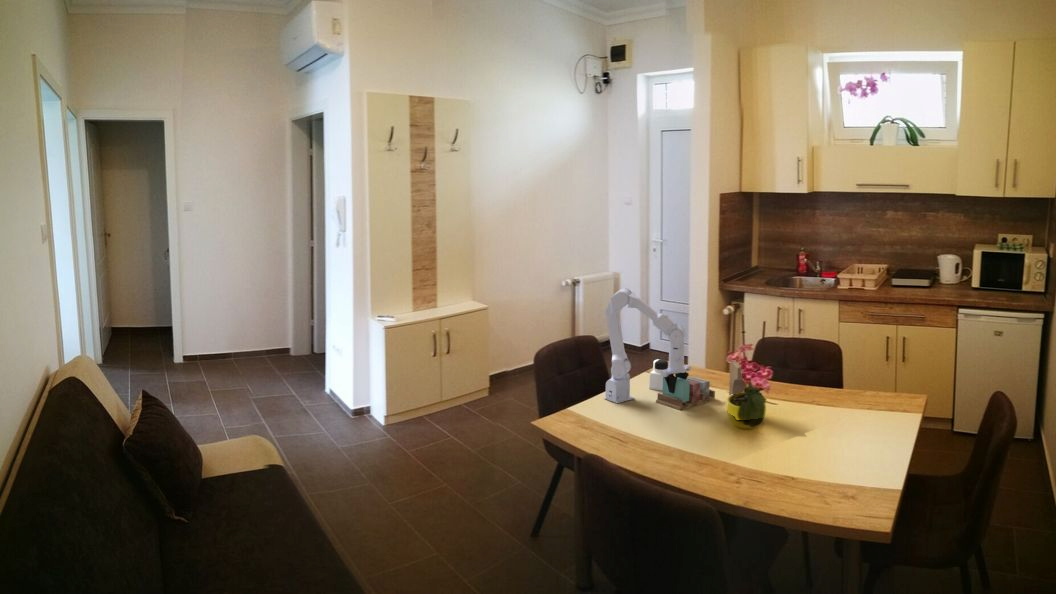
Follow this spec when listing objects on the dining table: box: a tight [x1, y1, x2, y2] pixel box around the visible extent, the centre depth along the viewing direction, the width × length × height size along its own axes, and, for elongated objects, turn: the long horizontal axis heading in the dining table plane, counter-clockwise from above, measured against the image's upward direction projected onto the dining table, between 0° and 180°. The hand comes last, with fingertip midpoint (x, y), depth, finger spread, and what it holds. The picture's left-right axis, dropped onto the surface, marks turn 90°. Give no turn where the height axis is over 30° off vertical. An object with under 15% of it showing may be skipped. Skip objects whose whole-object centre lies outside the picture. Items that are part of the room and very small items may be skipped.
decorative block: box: [728, 359, 746, 396], centre depth 262 cm, size 11×6×20 cm, turn 177°
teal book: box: [662, 377, 690, 403], centre depth 277 cm, size 4×10×8 cm, turn 37°
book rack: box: [655, 375, 716, 411], centre depth 281 cm, size 21×12×8 cm, turn 127°
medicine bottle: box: [648, 358, 669, 392], centre depth 298 cm, size 7×7×12 cm
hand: (675, 391), depth 277 cm, fingers closed on teal book, 4 cm apart
